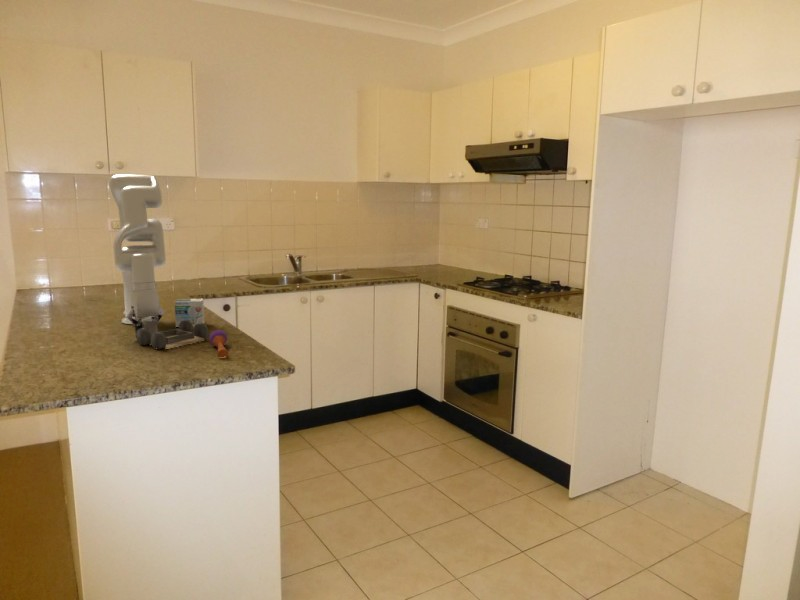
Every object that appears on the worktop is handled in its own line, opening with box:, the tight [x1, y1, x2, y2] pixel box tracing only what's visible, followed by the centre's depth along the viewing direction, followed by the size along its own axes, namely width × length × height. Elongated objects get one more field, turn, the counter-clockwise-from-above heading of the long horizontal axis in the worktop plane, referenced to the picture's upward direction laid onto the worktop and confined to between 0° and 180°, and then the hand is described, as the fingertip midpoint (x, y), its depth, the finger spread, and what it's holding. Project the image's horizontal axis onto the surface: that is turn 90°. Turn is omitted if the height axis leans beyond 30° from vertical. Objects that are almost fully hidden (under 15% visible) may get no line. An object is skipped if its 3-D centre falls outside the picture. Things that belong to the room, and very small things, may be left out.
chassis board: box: [135, 320, 210, 350], centre depth 206 cm, size 16×19×6 cm
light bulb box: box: [174, 298, 205, 328], centre depth 232 cm, size 11×7×11 cm, turn 105°
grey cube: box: [141, 318, 159, 334], centre depth 215 cm, size 6×6×6 cm
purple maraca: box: [209, 329, 229, 358], centre depth 195 cm, size 6×6×20 cm
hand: (147, 333), depth 216 cm, fingers closed on grey cube, 5 cm apart
